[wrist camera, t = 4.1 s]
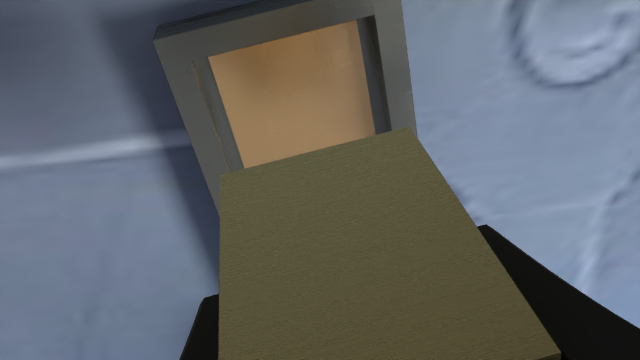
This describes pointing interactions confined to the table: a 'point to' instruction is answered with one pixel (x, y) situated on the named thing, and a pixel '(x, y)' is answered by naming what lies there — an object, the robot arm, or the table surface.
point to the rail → (286, 79)
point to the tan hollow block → (363, 263)
